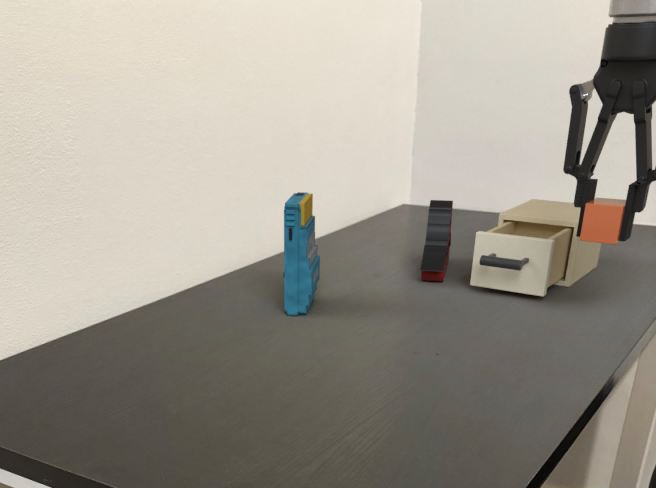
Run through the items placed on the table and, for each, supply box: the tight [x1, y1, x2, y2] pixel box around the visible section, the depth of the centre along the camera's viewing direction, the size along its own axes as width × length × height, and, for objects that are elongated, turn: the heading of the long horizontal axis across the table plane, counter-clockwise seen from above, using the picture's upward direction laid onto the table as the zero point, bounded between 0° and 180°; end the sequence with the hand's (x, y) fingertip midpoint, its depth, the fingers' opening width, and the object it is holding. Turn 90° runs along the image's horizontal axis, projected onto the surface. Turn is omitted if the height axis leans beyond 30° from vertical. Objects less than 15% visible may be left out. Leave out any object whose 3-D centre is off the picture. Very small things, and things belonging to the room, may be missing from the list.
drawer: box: [469, 220, 574, 298], centre depth 119 cm, size 18×11×8 cm, turn 144°
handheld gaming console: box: [283, 191, 321, 317], centre depth 112 cm, size 10×4×15 cm, turn 169°
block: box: [580, 197, 626, 245], centre depth 99 cm, size 4×4×4 cm
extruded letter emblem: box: [420, 199, 454, 282], centre depth 128 cm, size 18×4×11 cm, turn 165°
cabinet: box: [497, 198, 602, 288], centre depth 128 cm, size 15×13×10 cm
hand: (603, 236), depth 100 cm, fingers closed on block, 4 cm apart
